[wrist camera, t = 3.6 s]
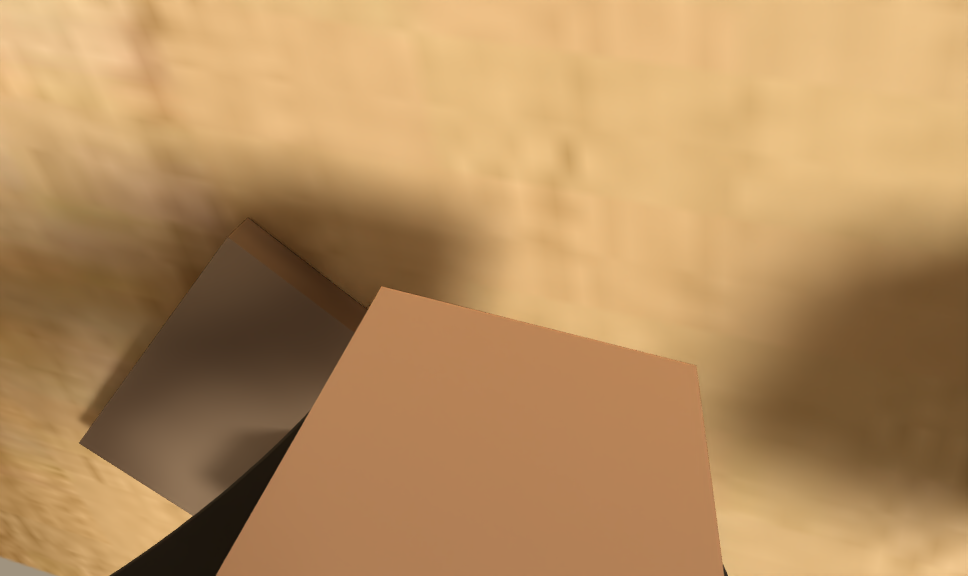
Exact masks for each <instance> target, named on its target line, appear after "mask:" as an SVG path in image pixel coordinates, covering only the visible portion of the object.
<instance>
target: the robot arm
mask: <svg viewBox="0 0 968 576" xmlns="http://www.w3.org/2000/svg"><path fill="white" fill-rule="evenodd" d="M309 412H310V411H309ZM309 412H308V413H307V414H306V415H305V416H304V417H303V418H302V419H301V420H300V421H299V422H298V423H297V424H296V425H295V426H294V427H293V428H292V429H291V430H290V431H289V432H288V433H287V434H286V435H285V436H284V437H283V438H282V439H281V440H280V441H279V442H278V443H277V444H276V445H275V446H274V447H273V448H272V449H271V450H270V451H269V452H268V453H267V454H265V455H264V456H263V457H262V458H261V459H260V460H259V461H258V462H257V463H256V464H255V465H253V466H252V467H251V468H250V469H249V470H248V471H247V472H245V473H244V474H243V475H242V476H241V477H240V478H239V479H237V480H236V481H235V482H234V483H233V484H232V485H231V486H229V487H228V488H227V489H226V490H225V491H224V492H222V493H221V494H220V495H219V496H218V497H216V498H215V499H214V500H213V501H211V502H210V503H209V504H208V505H206V506H205V507H204V508H203V509H201V510H200V511H199V512H197V513H196V514H195V515H194V516H192V517H191V518H190V519H189V520H187V521H186V522H185V523H184V524H182V525H181V526H180V527H178V528H177V529H176V530H175V531H173V532H172V533H170V534H169V535H168V536H166V537H165V538H164V539H162V540H161V541H160V542H158V543H157V544H155V545H154V546H153V547H151V548H150V549H148V550H147V551H146V552H144V553H143V554H141V555H140V556H138V557H137V558H135V559H134V560H132V561H131V562H129V563H128V564H127V565H125V566H124V567H122V568H121V569H119V570H118V571H116V572H115V573H113V574H111V575H110V576H216V574H217V573H218V571H219V569H220V567H221V566H222V564H223V562H224V560H225V559H226V557H227V555H228V554H229V552H230V550H231V548H232V547H233V545H234V543H235V541H236V540H237V538H238V536H239V534H240V533H241V531H242V529H243V527H244V526H245V524H246V522H247V520H248V519H249V517H250V515H251V513H252V512H253V510H254V508H255V506H256V505H257V503H258V501H259V499H260V498H261V496H262V494H263V492H264V491H265V489H266V487H267V485H268V484H269V482H270V480H271V478H272V477H273V475H274V473H275V471H276V470H277V468H278V466H279V464H280V463H281V461H282V459H283V457H284V456H285V454H286V452H287V450H288V449H289V447H290V445H291V443H292V442H293V440H294V438H295V437H296V435H297V433H298V431H299V430H300V428H301V426H302V424H303V423H304V421H305V419H306V417H307V416H308V414H309ZM723 571H724V576H728V575H727V572H726V570H725V568H724V565H723Z"/></svg>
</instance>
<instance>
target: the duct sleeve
mask: <svg viewBox="0 0 968 576" xmlns="http://www.w3.org/2000/svg"><path fill="white" fill-rule="evenodd" d="M216 576H724V571H723V563H722V556H721V548H720V540H719V533H718V525H717V518H716V510H715V503H714V495H713V488H712V480H711V473H710V465H709V457H708V450H707V442H706V435H705V427H704V420H703V412H702V405H701V397H700V390H699V382H698V374H697V367H696V365H692V364H688V363H684V362H680V361H676V360H672V359H668V358H664V357H660V356H657V355H653V354H649V353H645V352H641V351H637V350H633V349H629V348H625V347H621V346H617V345H613V344H609V343H605V342H601V341H597V340H593V339H589V338H585V337H581V336H577V335H573V334H569V333H565V332H561V331H557V330H553V329H549V328H545V327H541V326H537V325H533V324H529V323H525V322H521V321H517V320H513V319H510V318H506V317H502V316H498V315H494V314H490V313H486V312H482V311H478V310H474V309H470V308H466V307H462V306H458V305H454V304H450V303H446V302H442V301H438V300H434V299H430V298H426V297H422V296H418V295H414V294H410V293H406V292H402V291H398V290H394V289H390V288H386V287H382V286H381V288H380V290H379V292H378V293H377V295H376V297H375V299H374V300H373V302H372V304H371V306H370V307H369V309H368V311H367V313H366V314H365V316H364V318H363V320H362V321H361V323H360V325H359V327H358V328H357V330H356V332H355V333H354V335H353V337H352V339H351V340H350V342H349V344H348V346H347V347H346V349H345V351H344V353H343V354H342V356H341V358H340V360H339V361H338V363H337V365H336V367H335V368H334V370H333V372H332V374H331V375H330V377H329V379H328V381H327V382H326V384H325V386H324V388H323V389H322V391H321V393H320V395H319V396H318V398H317V400H316V402H315V403H314V405H313V407H312V409H311V410H310V412H309V414H308V416H307V417H306V419H305V421H304V423H303V424H302V426H301V428H300V430H299V431H298V433H297V435H296V437H295V438H294V440H293V442H292V443H291V445H290V447H289V449H288V450H287V452H286V454H285V456H284V457H283V459H282V461H281V463H280V464H279V466H278V468H277V470H276V471H275V473H274V475H273V477H272V478H271V480H270V482H269V484H268V485H267V487H266V489H265V491H264V492H263V494H262V496H261V498H260V499H259V501H258V503H257V505H256V506H255V508H254V510H253V512H252V513H251V515H250V517H249V519H248V520H247V522H246V524H245V526H244V527H243V529H242V531H241V533H240V534H239V536H238V538H237V540H236V541H235V543H234V545H233V547H232V548H231V550H230V552H229V554H228V555H227V557H226V559H225V560H224V562H223V564H222V566H221V567H220V569H219V571H218V573H217V574H216Z"/></svg>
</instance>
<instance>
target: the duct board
mask: <svg viewBox="0 0 968 576" xmlns="http://www.w3.org/2000/svg"><path fill="white" fill-rule="evenodd" d="M367 311H368V310H367V309H365V308H364V307H363V306H362V305H360V304H359V303H358V302H356V301H355V300H354V299H352V298H351V297H350V296H349V295H347V294H346V293H345V292H343V291H342V290H341V289H340V288H338V287H337V286H336V285H334V284H333V283H332V282H330V281H329V280H328V279H327V278H325V277H324V276H323V275H321V274H320V273H319V272H317V271H316V270H315V269H314V268H312V267H311V266H310V265H308V264H307V263H306V262H304V261H303V260H302V259H301V258H299V257H298V256H297V255H295V254H294V253H293V252H292V251H290V250H289V249H288V248H286V247H285V246H284V245H282V244H281V243H280V242H279V241H277V240H276V239H275V238H273V237H272V236H271V235H269V234H268V233H267V232H266V231H264V230H263V229H262V228H260V227H259V226H258V225H256V224H255V223H254V222H253V221H251V220H250V219H249V218H247V219H246V220H245V221H244V222H243V223H242V224H241V225H240V226H239V227H237V228H236V229H235V230H234V231H233V232H232V233H231V234H230V235H229V236H228V237H227V239H226V240H225V241H224V243H223V244H222V245H221V247H220V248H219V250H218V251H217V252H216V254H215V255H214V257H213V258H212V259H211V261H210V262H209V263H208V265H207V266H206V268H205V269H204V270H203V272H202V273H201V275H200V276H199V277H198V279H197V280H196V282H195V283H194V284H193V286H192V287H191V288H190V290H189V291H188V293H187V294H186V295H185V297H184V298H183V300H182V301H181V302H180V304H179V305H178V306H177V308H176V309H175V311H174V312H173V313H172V315H171V316H170V318H169V319H168V320H167V322H166V323H165V324H164V326H163V327H162V329H161V330H160V331H159V333H158V334H157V336H156V337H155V338H154V340H153V341H152V342H151V344H150V345H149V347H148V348H147V349H146V351H145V352H144V354H143V355H142V356H141V358H140V359H139V361H138V362H137V363H136V365H135V366H134V367H133V369H132V370H131V372H130V373H129V374H128V376H127V377H126V379H125V380H124V381H123V383H122V384H121V385H120V387H119V388H118V390H117V391H116V392H115V394H114V395H113V397H112V398H111V399H110V401H109V402H108V403H107V405H106V406H105V408H104V409H103V410H102V412H101V413H100V415H99V416H98V417H97V419H96V420H95V421H94V423H93V424H92V426H91V427H90V428H89V430H88V431H87V433H86V434H85V435H84V437H83V438H82V439H81V441H80V442H79V444H81V445H82V446H84V447H86V448H87V449H89V450H90V451H92V452H93V453H95V454H97V455H98V456H100V457H101V458H103V459H104V460H106V461H108V462H109V463H111V464H112V465H114V466H116V467H117V468H119V469H120V470H122V471H123V472H125V473H127V474H128V475H130V476H131V477H133V478H134V479H136V480H138V481H139V482H141V483H142V484H144V485H145V486H147V487H149V488H150V489H152V490H153V491H155V492H156V493H158V494H160V495H161V496H163V497H164V498H166V499H167V500H169V501H171V502H172V503H174V504H175V505H177V506H178V507H180V508H182V509H183V510H185V511H186V512H188V513H189V514H191V515H193V516H194V515H195V514H196V513H197V512H199V511H200V510H201V509H203V508H204V507H205V506H206V505H208V504H209V503H210V502H211V501H213V500H214V499H215V498H216V497H218V496H219V495H220V494H221V493H222V492H224V491H225V490H226V489H227V488H228V487H229V486H231V485H232V484H233V483H234V482H235V481H236V480H237V479H239V478H240V477H241V476H242V475H243V474H244V473H245V472H247V471H248V470H249V469H250V468H251V467H252V466H253V465H255V464H256V463H257V462H258V461H259V460H260V459H261V458H262V457H263V456H264V455H265V454H267V453H268V452H269V451H270V450H271V449H272V448H273V447H274V446H275V445H276V444H277V443H278V442H279V441H280V440H281V439H282V438H283V437H284V436H285V435H286V434H287V433H288V432H289V431H290V430H291V429H292V428H293V427H294V426H295V425H296V424H297V423H298V422H299V421H300V420H301V419H302V418H303V417H304V416H305V415H306V414H307V413H308V412H309V411H310V410H311V409H312V407H313V405H314V403H315V402H316V400H317V398H318V396H319V395H320V393H321V391H322V389H323V388H324V386H325V384H326V382H327V381H328V379H329V377H330V375H331V374H332V372H333V370H334V368H335V367H336V365H337V363H338V361H339V360H340V358H341V356H342V354H343V353H344V351H345V349H346V347H347V346H348V344H349V342H350V340H351V339H352V337H353V335H354V333H355V332H356V330H357V328H358V327H359V325H360V323H361V321H362V320H363V318H364V316H365V314H366V313H367Z"/></svg>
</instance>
